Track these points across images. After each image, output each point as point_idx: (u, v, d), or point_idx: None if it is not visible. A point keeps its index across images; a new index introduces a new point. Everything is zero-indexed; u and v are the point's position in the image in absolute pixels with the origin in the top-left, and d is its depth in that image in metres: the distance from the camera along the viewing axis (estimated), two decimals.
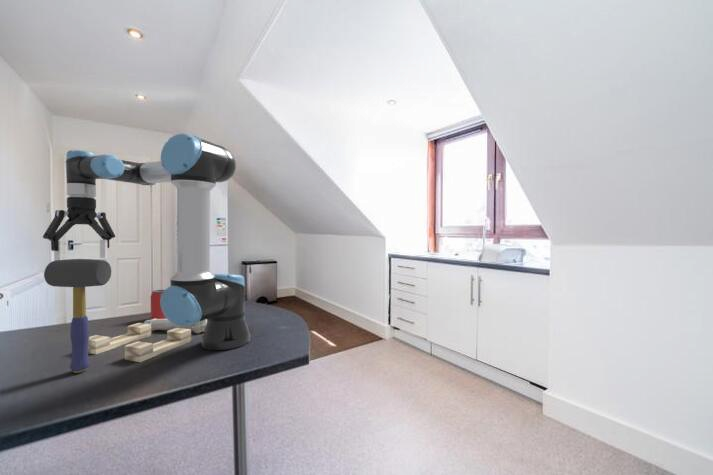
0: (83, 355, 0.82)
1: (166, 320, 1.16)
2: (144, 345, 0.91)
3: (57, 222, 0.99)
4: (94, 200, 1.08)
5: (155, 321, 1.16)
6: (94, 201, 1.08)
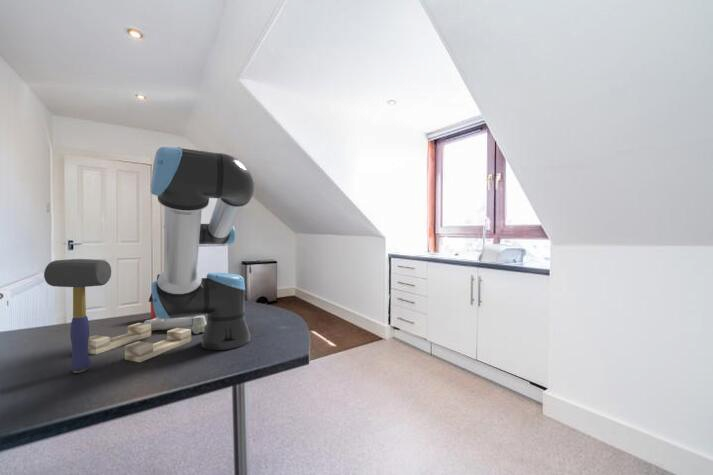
0: (83, 355, 0.82)
1: (165, 320, 1.16)
2: (144, 345, 0.91)
3: None
4: None
5: (155, 321, 1.17)
6: None
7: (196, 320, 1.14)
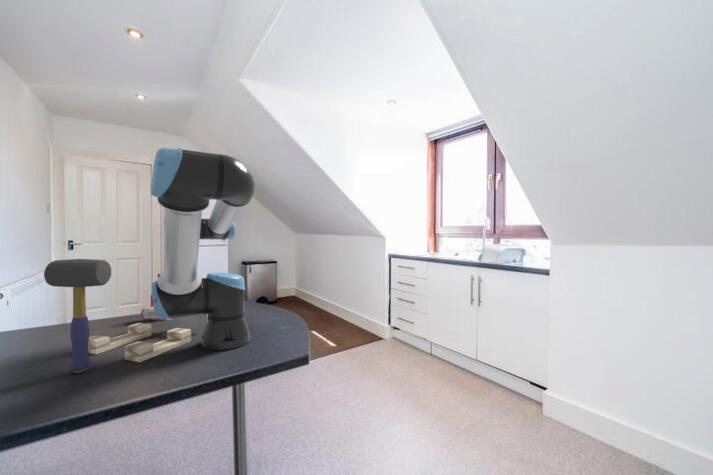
0: (83, 355, 0.82)
1: None
2: (144, 345, 0.91)
3: None
4: None
5: None
6: None
7: None
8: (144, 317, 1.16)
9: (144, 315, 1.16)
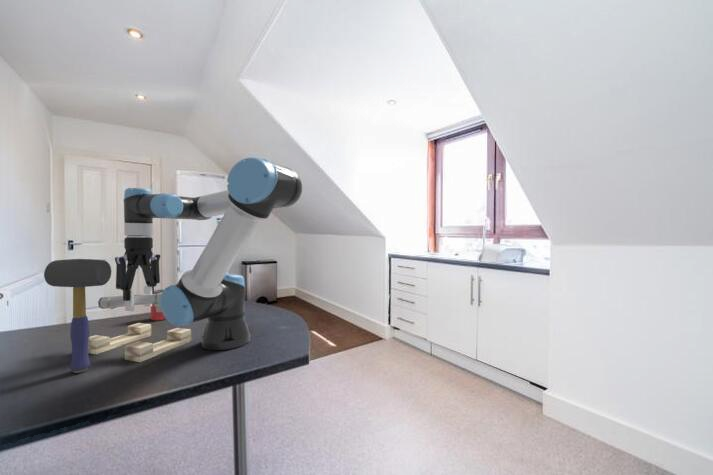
0: (83, 355, 0.82)
1: None
2: (144, 345, 0.91)
3: (122, 271, 0.95)
4: (151, 239, 1.01)
5: (113, 297, 1.01)
6: (151, 240, 1.01)
7: (160, 296, 0.98)
8: (102, 307, 1.01)
9: (102, 304, 1.01)
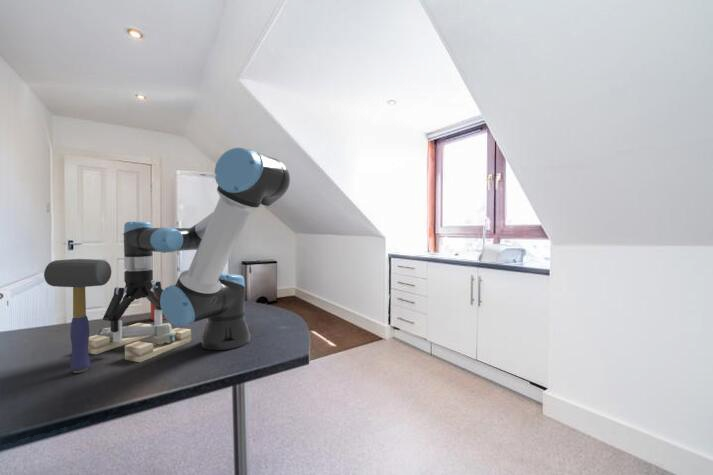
0: (83, 355, 0.82)
1: (125, 328, 1.00)
2: (144, 345, 0.91)
3: (117, 302, 0.93)
4: (151, 272, 1.02)
5: None
6: (151, 273, 1.02)
7: (160, 329, 0.98)
8: None
9: None
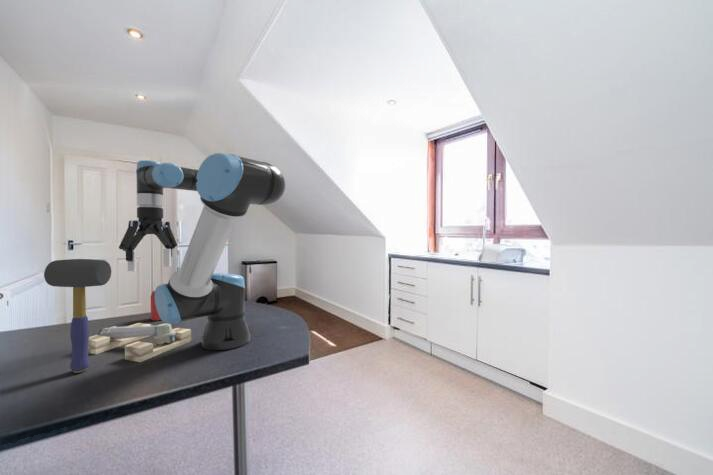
0: (83, 355, 0.82)
1: (125, 328, 1.00)
2: (144, 345, 0.91)
3: (132, 232, 0.99)
4: (162, 210, 1.08)
5: (113, 329, 1.01)
6: (162, 211, 1.08)
7: (160, 329, 0.98)
8: None
9: None
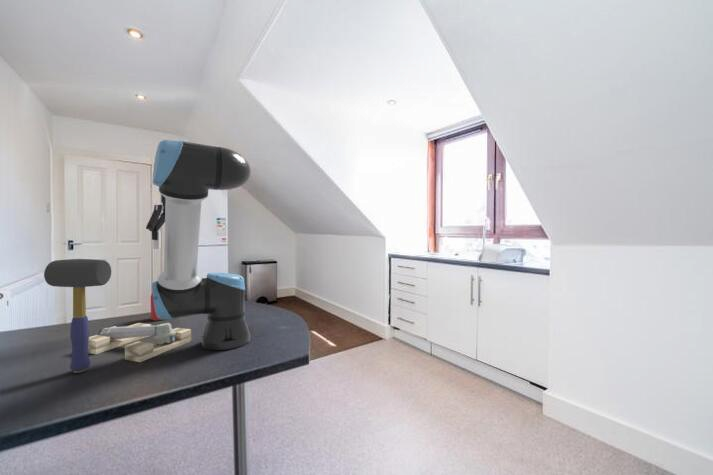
0: (83, 355, 0.82)
1: (125, 328, 1.00)
2: (144, 345, 0.91)
3: (157, 215, 1.14)
4: None
5: (113, 329, 1.01)
6: None
7: (160, 329, 0.98)
8: None
9: None
